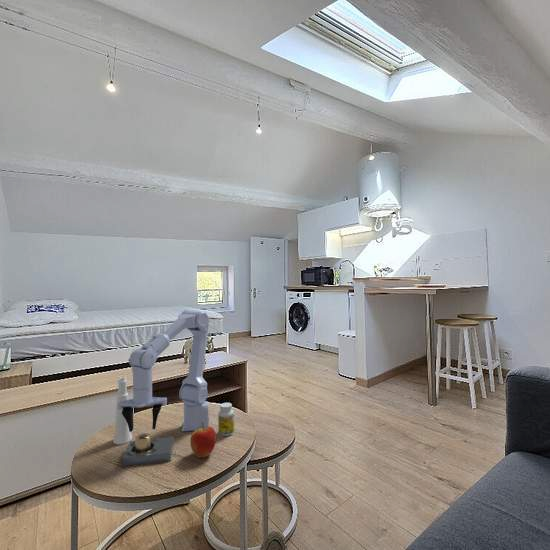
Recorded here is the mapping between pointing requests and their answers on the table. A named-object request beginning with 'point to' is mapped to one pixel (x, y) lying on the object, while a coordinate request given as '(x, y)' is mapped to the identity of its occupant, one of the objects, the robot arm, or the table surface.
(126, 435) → the cosmetic bottle
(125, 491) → the table surface
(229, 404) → the supplement bottle
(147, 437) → the bushing
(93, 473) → the table surface
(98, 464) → the table surface
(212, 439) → the apple
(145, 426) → the table surface
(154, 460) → the plate
